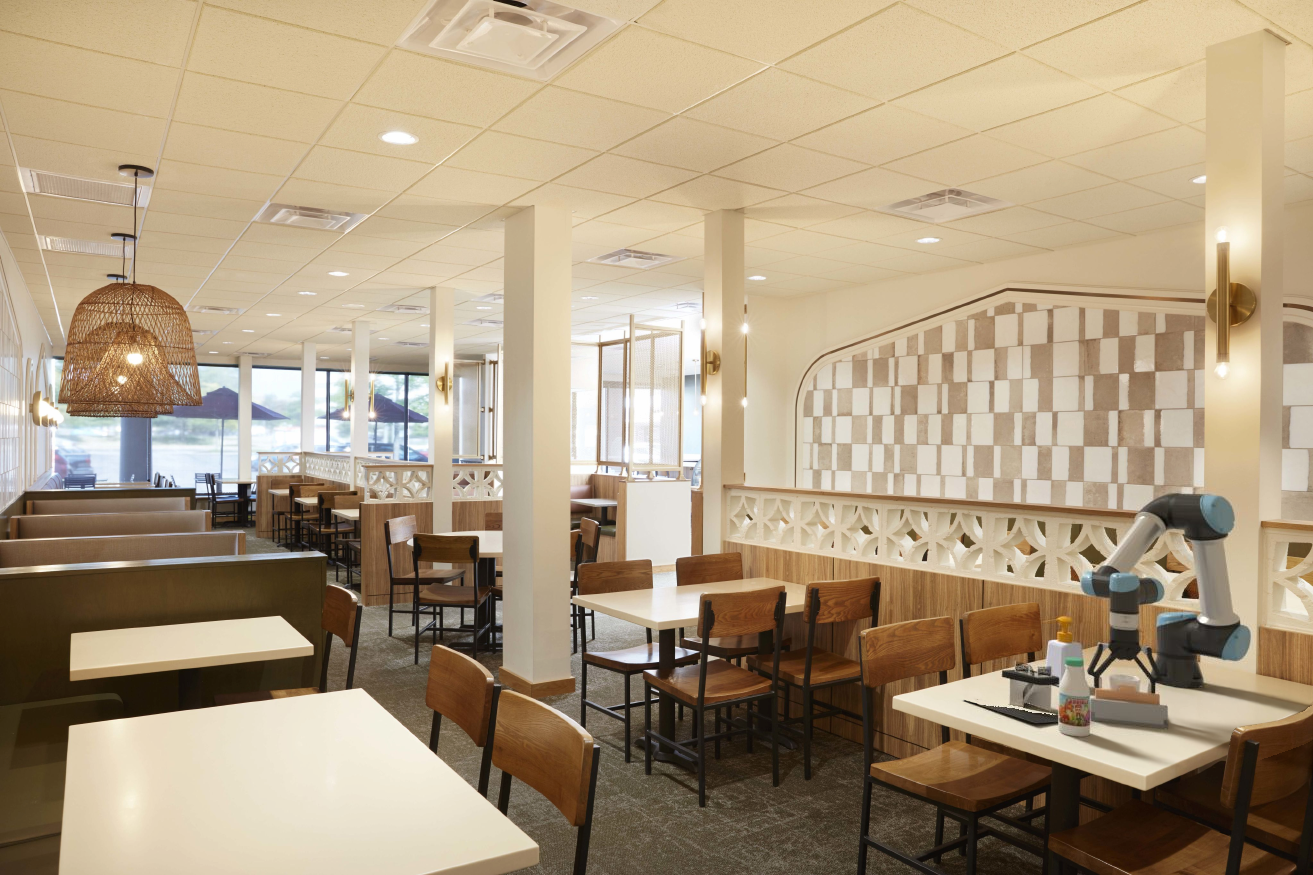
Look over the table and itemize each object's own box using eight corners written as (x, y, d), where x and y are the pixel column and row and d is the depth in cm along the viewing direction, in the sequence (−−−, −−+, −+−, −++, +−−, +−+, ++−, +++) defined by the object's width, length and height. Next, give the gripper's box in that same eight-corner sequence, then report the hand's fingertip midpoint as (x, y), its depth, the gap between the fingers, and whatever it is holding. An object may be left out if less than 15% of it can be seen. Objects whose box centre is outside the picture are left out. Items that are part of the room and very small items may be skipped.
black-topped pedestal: (961, 699, 266) (963, 655, 267) (1025, 695, 276) (1026, 653, 277) (1035, 723, 240) (1036, 674, 241) (1102, 718, 251) (1103, 671, 252)
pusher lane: (1155, 710, 258) (1155, 689, 258) (1167, 728, 240) (1167, 706, 240) (1084, 702, 264) (1084, 682, 265) (1091, 720, 247) (1091, 699, 247)
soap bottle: (1031, 682, 287) (1031, 615, 288) (1065, 679, 292) (1065, 613, 292) (1053, 690, 278) (1053, 620, 279) (1087, 687, 283) (1087, 618, 283)
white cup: (1133, 708, 255) (1133, 674, 255) (1145, 716, 247) (1145, 681, 247) (1104, 707, 256) (1104, 673, 256) (1115, 715, 248) (1116, 680, 248)
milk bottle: (1052, 728, 239) (1052, 655, 239) (1079, 727, 240) (1079, 655, 240) (1068, 737, 231) (1068, 662, 232) (1096, 737, 232) (1096, 661, 232)
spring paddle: (1158, 718, 245) (1158, 688, 245) (1160, 721, 242) (1160, 691, 243) (1094, 711, 251) (1094, 682, 251) (1096, 714, 248) (1096, 685, 248)
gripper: (1079, 626, 253) (1079, 700, 253) (1174, 633, 244) (1174, 710, 244) (1077, 621, 260) (1076, 694, 260) (1169, 628, 251) (1169, 703, 251)
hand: (1124, 702), depth 252 cm, fingers open, 12 cm apart
